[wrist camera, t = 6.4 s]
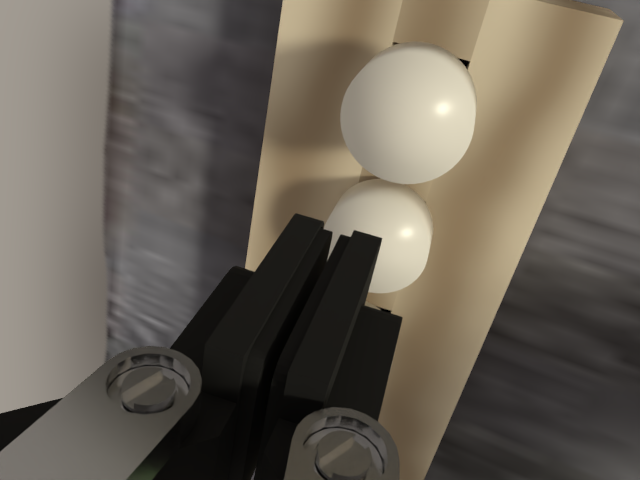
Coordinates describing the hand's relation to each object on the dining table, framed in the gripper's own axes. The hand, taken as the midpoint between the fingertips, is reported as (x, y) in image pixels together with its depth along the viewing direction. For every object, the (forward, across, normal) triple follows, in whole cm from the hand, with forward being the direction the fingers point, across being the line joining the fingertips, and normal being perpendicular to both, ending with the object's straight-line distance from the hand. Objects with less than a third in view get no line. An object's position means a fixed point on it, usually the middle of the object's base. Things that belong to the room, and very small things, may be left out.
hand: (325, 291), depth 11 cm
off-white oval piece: (+15, 0, 0) cm, 15 cm away
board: (+17, 0, +9) cm, 19 cm away
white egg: (+17, 0, +6) cm, 18 cm away
